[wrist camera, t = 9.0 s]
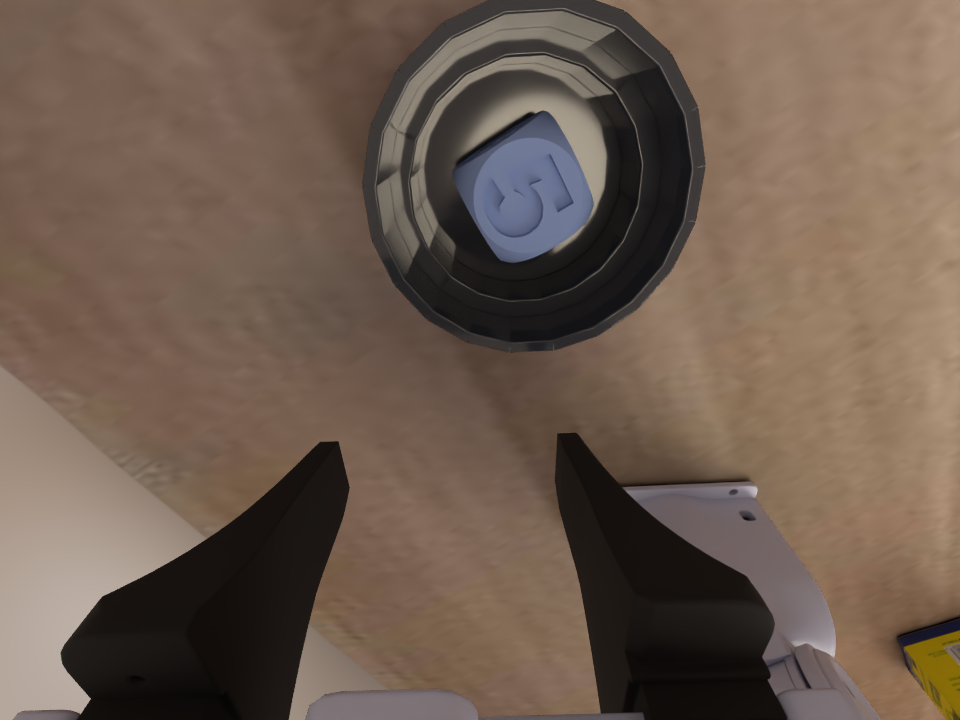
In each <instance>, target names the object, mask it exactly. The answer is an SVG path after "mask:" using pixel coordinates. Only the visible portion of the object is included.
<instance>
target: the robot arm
mask: <svg viewBox="0 0 960 720" xmlns="http://www.w3.org/2000/svg"><path fill="white" fill-rule="evenodd" d="M555 484H556V491H557V497H558V503H559V509H560V513H561V517H562V520H563V524H564V528H565V531H566V535H567V538H568V542H569V545H570V549H571V553H572V556H573V560H574V563H575V567H576V570H577V574H578V579H579V583H580V587H581V593H582V599H583V604H584V610H585V615H586V621H587V627H588V633H589V639H590V645H591V651H592V657H593V664H594V670H595V677H596V683H597V690H598V696H599V703H600V710H601V714H566V715H530V716H494V717H478V713H477V710H476V708H475V707H474V705H473V704H472V702H471V701H470V700H469V699H468V698H467V697H465V696H463V695H461V694H459V693H457V692H455V691H451V690H442V689H404V690H370V691H341V692H336V693H330V694H325V695H324V696H322V697H321V698H320V699H318V700H316V701H315V702H314V703H312V704H311V705H309V708H308V712H307V715H306V719H305V720H881V718H880V717H879V716H878V714H877V713H876V711H875V710H874V709H873V707H872V706H871V705H870V703H869V702H868V700H867V699H866V698H865V696H864V695H863V694H862V692H861V691H860V690H859V688H858V687H857V686H856V684H855V683H854V682H853V681H852V679H851V678H850V677H849V675H848V674H847V673H846V672H845V670H844V669H843V668H842V667H841V666H840V664H839V663H838V662H837V661H836V660H835V659H834V655H835V649H836V635H835V628H834V624H833V620H832V617H831V614H830V611H829V608H828V605H827V603H826V600H825V598H824V596H823V594H822V592H821V590H820V588H819V586H818V585H817V583H816V581H815V580H814V578H813V577H812V575H811V574H810V572H809V571H808V570H807V568H806V567H805V566H804V564H803V563H802V561H801V560H800V559H799V557H798V556H797V555H796V553H795V552H794V550H793V549H792V548H791V546H790V545H789V544H788V542H787V541H786V540H785V538H784V537H783V535H782V534H781V533H780V531H779V530H778V529H777V527H776V526H775V525H774V523H773V522H772V520H771V519H770V518H769V516H768V515H767V514H766V512H765V511H764V509H763V508H762V507H761V505H760V504H759V503H758V501H757V500H756V499H755V497H756V494H757V491H758V488H757V486H756V485H755V484H754V483H753V482H726V483H704V484H681V485H658V486H635V487H621V486H620V485H619V484H618V482H617V481H616V480H615V479H614V478H613V477H612V476H611V475H610V474H609V472H608V471H607V470H606V469H605V468H604V467H603V466H602V464H601V463H600V462H599V461H598V460H597V458H596V457H595V456H594V455H593V453H592V452H591V451H590V449H589V448H588V447H587V446H586V444H585V443H584V441H583V440H582V439H581V437H580V436H579V435H578V434H577V433H557V452H556V470H555ZM349 488H350V487H349V483H348V479H347V475H346V471H345V467H344V462H343V458H342V454H341V450H340V446H339V442H338V441H334V442H320V443H318V444H317V445H316V446H315V447H314V448H313V449H312V450H311V451H310V452H309V453H308V454H307V455H306V456H305V457H304V458H303V459H302V460H301V461H300V462H299V463H298V464H297V465H296V466H295V467H294V468H293V469H292V470H291V471H290V472H289V473H288V474H287V475H286V476H285V477H284V478H283V479H282V480H280V481H279V482H278V483H277V484H276V485H275V486H274V487H273V488H272V489H271V490H269V491H268V492H267V493H266V494H265V495H264V496H263V497H261V498H260V499H259V500H258V501H257V502H256V503H255V504H254V505H252V506H251V507H250V508H249V509H247V510H246V511H245V512H244V513H242V514H241V515H240V516H239V517H237V518H236V519H235V520H233V521H232V522H231V523H229V524H228V525H227V526H225V527H224V528H222V529H221V530H220V531H218V532H217V533H215V534H214V535H212V536H211V537H209V538H208V539H206V540H205V541H203V542H202V543H200V544H198V545H197V546H196V547H194V548H192V549H191V550H189V551H188V552H186V553H184V554H183V555H181V556H179V557H178V558H176V559H174V560H173V561H171V562H169V563H167V564H165V565H164V566H162V567H160V568H158V569H157V570H155V571H153V572H151V573H149V574H147V575H145V576H144V577H142V578H140V579H137V580H135V581H133V582H131V583H129V584H127V585H125V586H123V587H121V588H120V589H117V590H115V591H113V592H111V593H109V594H107V595H105V596H103V597H102V598H101V599H100V600H99V601H98V603H97V604H96V605H95V606H94V608H93V609H92V610H91V612H90V613H89V614H88V615H87V617H86V618H85V619H84V620H83V622H82V623H81V624H80V626H79V627H78V628H77V629H76V631H75V632H74V633H73V634H72V636H71V637H70V638H69V640H68V641H67V642H66V643H65V645H64V647H63V649H62V651H61V659H62V664H63V666H64V667H65V669H66V670H67V672H68V673H69V674H70V675H71V676H72V677H73V679H74V680H75V681H76V682H77V683H78V684H79V686H80V687H81V688H82V689H83V690H84V691H85V692H86V694H87V695H88V696H89V697H90V698H91V700H90V701H89V703H88V704H87V706H86V707H85V709H84V710H83V712H82V713H81V714H79V713H77V712H74V711H70V710H41V711H40V710H39V711H38V710H37V711H22V712H20V713H18V714H17V715H16V716H15V718H14V719H13V720H288V719H289V714H290V709H291V703H292V698H293V693H294V688H295V683H296V678H297V674H298V668H299V664H300V659H301V654H302V650H303V646H304V641H305V637H306V632H307V628H308V624H309V620H310V616H311V612H312V608H313V604H314V600H315V596H316V593H317V590H318V586H319V583H320V580H321V577H322V575H323V572H324V569H325V566H326V564H327V561H328V558H329V555H330V553H331V550H332V547H333V544H334V542H335V539H336V536H337V533H338V530H339V528H340V525H341V522H342V519H343V516H344V512H345V507H346V503H347V498H348V493H349Z"/></svg>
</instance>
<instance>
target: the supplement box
mask: <svg viewBox="0 0 960 720" xmlns="http://www.w3.org/2000/svg"><path fill="white" fill-rule="evenodd" d="M897 640H898V642H899V644H900V646H901V647H902V650H903V653H904V656H905V659H906V664H907V668H908V670H909V671H910V673H911V674H912V675H913V677H914V678H915V679H916V681H917V682H918V684H919V685H920V686H921V687H922V689H923V690H924V691H925V693H926V694H927V695H928V696H929V697H930V699H931V700H932V701H933V703H934V704H935V705H936V706H937V708H938V709H939V710H940V712H941V713H942V714H943V716H944V717H945V718H946V719H947V720H960V619H956V620H953V621H950V622H947V623H943V624H940V625H937V626H933V627H930V628H926V629H923V630H920V631H916V632H913V633H910V634H906V635H903V636H900V637H898V639H897Z"/></svg>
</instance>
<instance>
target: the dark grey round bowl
mask: <svg viewBox="0 0 960 720" xmlns="http://www.w3.org/2000/svg"><path fill="white" fill-rule="evenodd" d="M542 110H544V111H547V112H549V113H550V114H551V115H552V116H553V117H554V119H555V120H556V122H557V123H558V125H559V126H560V128H561V129H562V131H563V133H564V135H565V136H566V138H567V140H568V142H569V144H570V146H571V148H572V150H573V152H574V154H575V156H576V158H577V160H578V162H579V164H580V166H581V168H582V171H583V173H584V175H585V178H586V180H587V183H588V185H589V188H590V191H591V194H592V197H593V202H594V207H593V209H592V212H591V215H590V217H589V219H588V221H587V222H586V223H585V224H584V225H583V226H582V227H581V228H580V229H579V230H578V231H577V232H576V233H574V234H573V235H572V236H571V237H569V238H568V239H566V240H565V241H563V242H562V243H560V244H559V245H557V246H555V247H554V248H552V249H550V250H548V251H546V252H544V253H542V254H540V255H538V256H536V257H533V258H531V259H528V260H525V261H521V262H516V263H510V262H505V261H501V260H500V259H499V258H498V257H497V256H496V255H495V253H494V252H493V250H492V249H491V248H490V246H489V245H488V243H487V241H486V240H485V238H484V237H483V235H482V233H481V232H480V230H479V228H478V227H477V225H476V223H475V222H474V220H473V218H472V216H471V214H470V213H469V211H468V209H467V207H466V205H465V203H464V201H463V199H462V197H461V195H460V193H459V191H458V189H457V187H456V184H455V182H454V179H453V175H452V174H453V169H454V168H455V167H456V166H457V165H459V164H460V163H461V162H462V161H464V160H465V159H466V158H468V157H469V156H470V155H472V154H473V153H475V152H476V151H477V150H479V149H480V148H482V147H483V146H485V145H486V144H488V143H489V142H491V141H492V140H493V139H495V138H497V137H498V136H500V135H501V134H503V133H504V132H506V131H507V130H509V129H510V128H512V127H514V126H515V125H517V124H518V123H520V122H522V121H523V120H525V119H527V118H528V117H530V116H532V115H534V114H536V113H538V112H540V111H542ZM704 172H705V157H704V149H703V141H702V133H701V126H700V118H699V110H698V108H697V104H696V102H695V100H694V98H693V96H692V94H691V92H690V90H689V88H688V86H687V84H686V82H685V80H684V78H683V76H682V74H681V72H680V70H679V67H678V65H677V63H676V61H675V59H674V57H673V55H672V54H670V51H669V50H668V49H667V48H666V47H664V46H663V45H662V44H661V43H660V42H659V41H658V40H657V39H656V38H655V37H654V36H652V35H651V34H650V33H649V32H648V31H647V30H646V29H645V28H644V27H643V26H641V25H640V24H639V23H638V22H637V21H636V20H635V19H634V18H633V17H632V16H630V15H629V14H628V13H627V12H625V11H624V10H621V9H619V8H616V7H613V6H610V5H607V4H605V3H602V2H599V1H596V0H488V1H485V2H483V3H481V4H479V5H477V6H475V7H473V8H471V9H469V10H467V11H465V12H463V13H460V14H458V15H456V16H454V17H452V18H450V19H448V20H446V21H444V22H443V23H442V24H440V25H439V26H438V27H437V28H436V29H435V30H434V31H433V32H432V33H431V34H430V36H429V37H428V38H427V39H426V40H425V41H424V42H423V43H422V44H421V45H420V46H419V47H418V48H417V49H416V50H415V51H414V52H413V53H412V54H411V55H410V56H409V57H408V58H407V59H406V60H405V61H404V62H403V63H402V64H401V65H400V66H399V68H398V70H397V71H396V72H395V74H394V77H393V79H392V81H391V83H390V85H389V87H388V89H387V91H386V93H385V96H384V98H383V100H382V102H381V104H380V106H379V108H378V110H377V112H376V115H375V117H374V119H373V121H372V123H371V127H370V130H369V137H368V145H367V152H366V160H365V167H364V175H363V182H362V184H363V186H362V187H363V193H364V199H365V205H366V211H367V217H368V223H369V229H370V235H371V239H372V242H373V244H374V246H375V248H376V250H377V252H378V254H379V256H380V258H381V260H382V262H383V264H384V266H385V268H386V270H387V272H388V274H389V276H390V278H391V280H392V282H393V284H395V287H396V288H397V289H398V290H399V291H400V292H401V293H402V294H403V295H404V296H405V297H406V298H407V299H408V300H409V301H410V303H411V304H412V305H413V306H414V307H415V308H416V309H417V310H418V311H419V312H420V313H421V314H422V315H423V316H424V317H425V318H426V319H427V320H428V321H430V322H432V323H433V324H435V325H437V326H439V327H440V328H442V329H444V330H446V331H447V332H449V333H451V334H452V335H454V336H456V337H458V338H459V339H461V340H463V341H465V342H467V343H471V344H475V345H479V346H484V347H488V348H492V349H496V350H501V351H505V352H511V353H512V352H532V351H553V350H557V349H560V348H563V347H566V346H569V345H572V344H575V343H578V342H581V341H584V340H587V339H590V338H593V337H596V336H598V335H600V334H602V333H603V332H605V331H606V330H608V329H609V328H611V327H612V326H614V325H615V324H617V323H618V322H620V321H621V320H623V319H624V318H626V317H627V316H629V315H630V314H632V313H633V312H635V311H636V310H637V309H638V308H640V307H641V305H642V304H643V303H644V302H645V301H646V300H647V299H648V297H649V296H650V295H651V294H652V293H653V292H654V291H655V289H656V288H657V287H658V286H659V285H660V284H661V283H662V281H663V280H664V279H665V278H666V277H667V276H668V275H669V274H670V272H671V270H672V269H673V268H674V266H675V264H676V261H677V259H678V257H679V255H680V253H681V251H682V249H683V247H684V245H685V243H686V241H687V239H688V237H689V235H690V233H691V231H692V229H693V227H694V225H695V221H696V218H697V212H698V206H699V201H700V195H701V189H702V184H703V178H704Z"/></svg>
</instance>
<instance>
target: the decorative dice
mask: <svg viewBox="0 0 960 720" xmlns="http://www.w3.org/2000/svg"><path fill="white" fill-rule="evenodd" d="M452 175H453V179H454V182H455V184H456V187H457V189H458V191H459V193H460V195H461V197H462V199H463V201H464V203H465V205H466V207H467V209H468V211H469V213H470V214H471V216H472V218H473V220H474V222H475V223H476V225H477V227H478V228H479V230H480V232H481V233H482V235H483V237H484V238H485V240H486V241H487V243H488V245H489V246H490V248H491V249H492V250H493V252H494V253H495V255H496V256H497V257H498V258H499V259H500V260H501V261H505V262H510V263H516V262H521V261H525V260H528V259H531V258H533V257H536V256H538V255H540V254H542V253H544V252H546V251H548V250H550V249H552V248H554V247H555V246H557V245H559V244H560V243H562V242H563V241H565V240H566V239H568V238H569V237H571V236H572V235H573V234H574V233H576V232H577V231H578V230H579V229H580V228H581V227H582V226H583V225H584V224H585V223H586V222H587V221H588V219H589V217H590V215H591V212H592V209H593V207H594V202H593V197H592V194H591V191H590V188H589V185H588V183H587V180H586V178H585V175H584V173H583V171H582V168H581V166H580V164H579V162H578V160H577V158H576V156H575V154H574V152H573V150H572V148H571V146H570V144H569V142H568V140H567V138H566V136H565V135H564V133H563V131H562V129H561V128H560V126H559V125H558V123H557V122H556V120H555V119H554V117H553V116H552V115H551V114H550V113H549V112H547V111H544V110H542V111H540V112H538V113H536V114H534V115H532V116H530V117H528V118H527V119H525V120H523V121H522V122H520V123H518V124H517V125H515V126H514V127H512V128H510V129H509V130H507V131H506V132H504V133H503V134H501V135H500V136H498V137H497V138H495V139H493V140H492V141H491V142H489V143H488V144H486V145H485V146H483V147H482V148H480V149H479V150H477V151H476V152H475V153H473V154H472V155H470V156H469V157H468V158H466V159H465V160H464V161H462V162H461V163H460V164H459V165H457V166H456V167H455V168H454V169H453V174H452Z"/></svg>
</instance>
